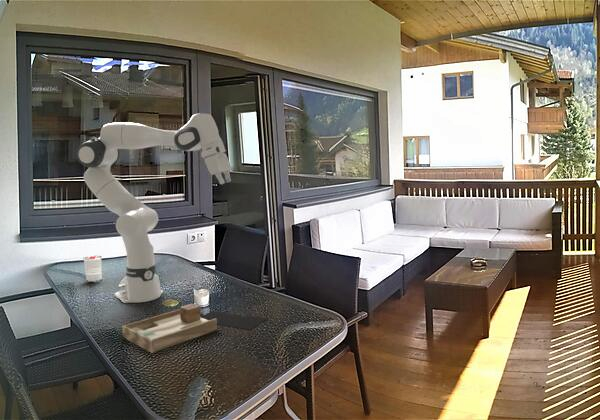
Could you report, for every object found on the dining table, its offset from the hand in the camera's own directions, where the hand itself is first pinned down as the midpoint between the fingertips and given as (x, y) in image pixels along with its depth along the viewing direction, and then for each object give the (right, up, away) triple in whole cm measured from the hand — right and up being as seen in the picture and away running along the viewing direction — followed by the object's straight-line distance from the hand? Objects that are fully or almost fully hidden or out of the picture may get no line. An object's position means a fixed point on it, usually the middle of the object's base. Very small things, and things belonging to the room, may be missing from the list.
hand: (225, 182), depth 194 cm
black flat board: (+3, -53, -17) cm, 55 cm away
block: (-9, -51, -25) cm, 57 cm away
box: (-14, -54, -30) cm, 64 cm away
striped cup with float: (-72, -47, +42) cm, 96 cm away
